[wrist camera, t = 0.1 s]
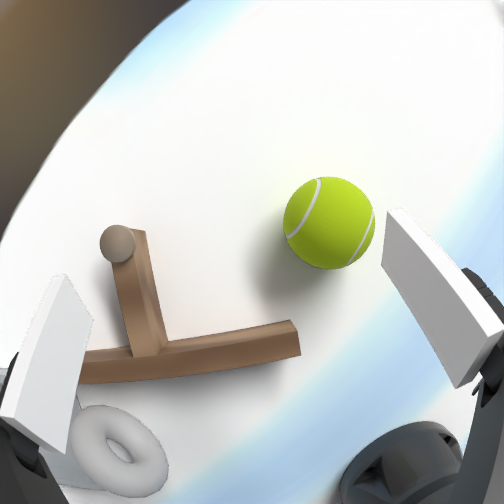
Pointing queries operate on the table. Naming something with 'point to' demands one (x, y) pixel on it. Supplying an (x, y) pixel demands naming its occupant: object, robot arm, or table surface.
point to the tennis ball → (329, 223)
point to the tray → (64, 457)
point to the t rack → (154, 334)
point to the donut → (107, 462)
